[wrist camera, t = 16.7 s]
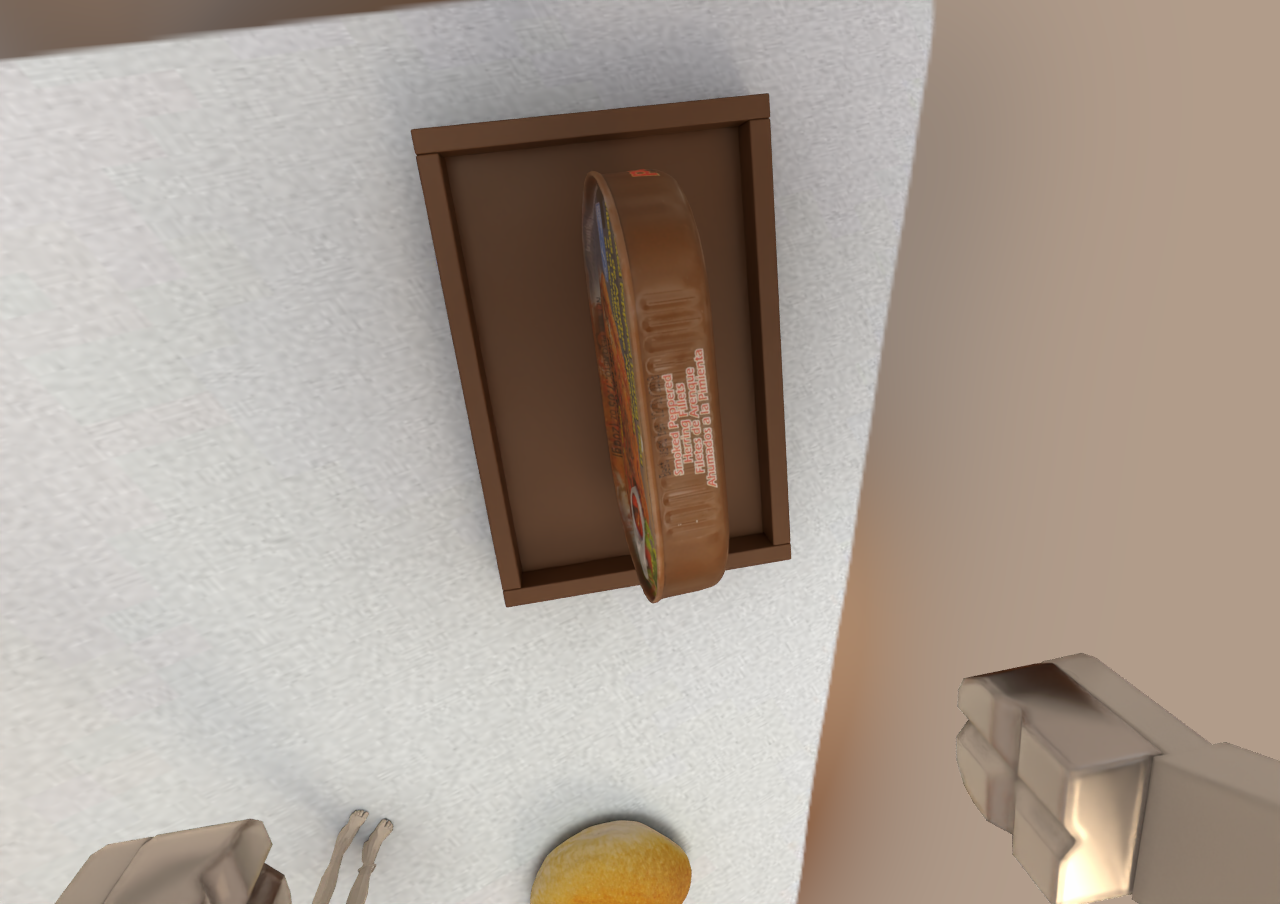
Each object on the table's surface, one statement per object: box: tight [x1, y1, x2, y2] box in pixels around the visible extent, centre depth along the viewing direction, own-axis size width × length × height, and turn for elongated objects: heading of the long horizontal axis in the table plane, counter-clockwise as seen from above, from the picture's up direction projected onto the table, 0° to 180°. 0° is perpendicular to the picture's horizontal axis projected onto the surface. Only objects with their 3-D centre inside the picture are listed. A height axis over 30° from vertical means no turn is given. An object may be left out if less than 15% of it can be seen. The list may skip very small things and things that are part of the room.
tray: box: [411, 93, 791, 607], centre depth 27 cm, size 19×13×2 cm
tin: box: [582, 169, 729, 603], centre depth 24 cm, size 15×3×8 cm, turn 6°
